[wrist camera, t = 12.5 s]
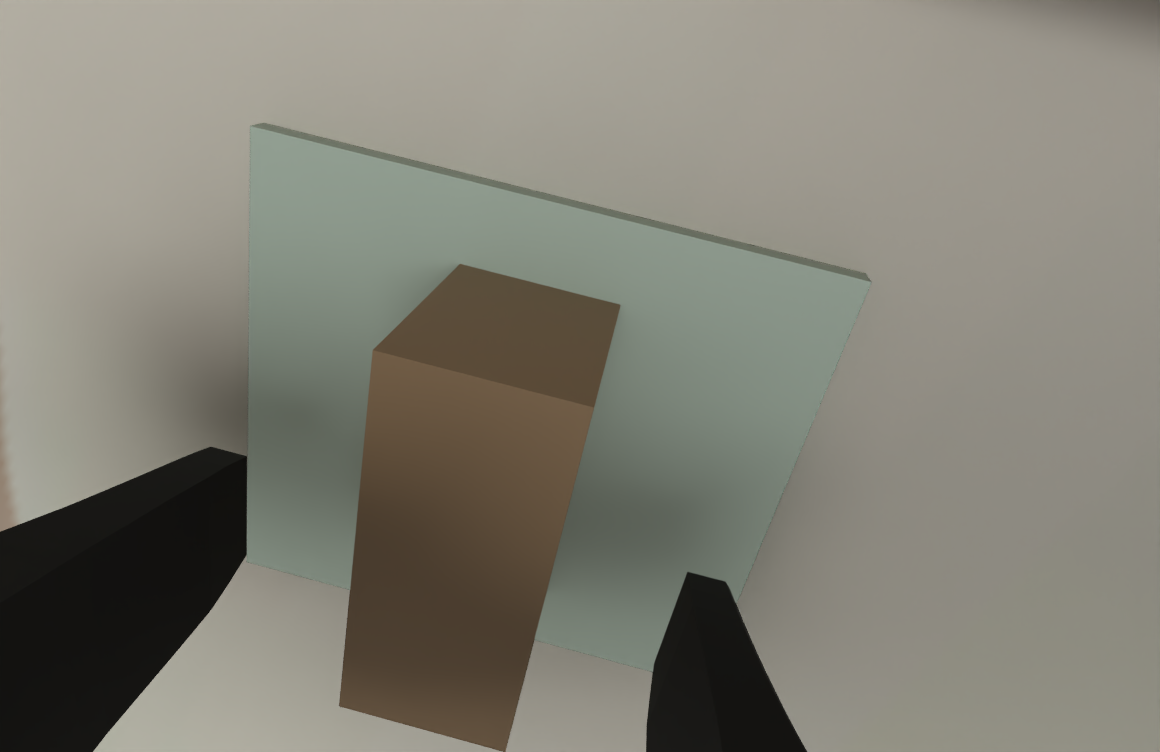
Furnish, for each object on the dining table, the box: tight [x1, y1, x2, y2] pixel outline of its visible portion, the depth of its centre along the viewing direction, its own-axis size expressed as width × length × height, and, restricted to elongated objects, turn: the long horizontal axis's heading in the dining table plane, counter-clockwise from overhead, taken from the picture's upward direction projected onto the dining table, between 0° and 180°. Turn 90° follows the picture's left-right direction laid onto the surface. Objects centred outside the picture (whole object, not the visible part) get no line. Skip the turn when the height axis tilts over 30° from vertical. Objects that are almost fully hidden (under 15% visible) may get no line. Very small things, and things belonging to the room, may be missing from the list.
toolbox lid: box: [247, 123, 871, 752], centre depth 13 cm, size 11×10×5 cm
